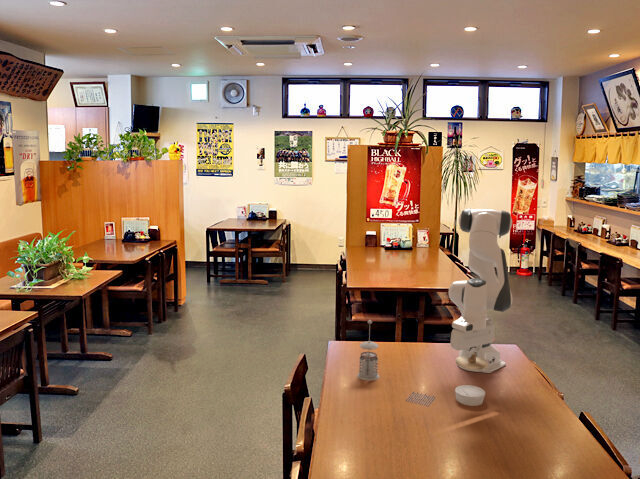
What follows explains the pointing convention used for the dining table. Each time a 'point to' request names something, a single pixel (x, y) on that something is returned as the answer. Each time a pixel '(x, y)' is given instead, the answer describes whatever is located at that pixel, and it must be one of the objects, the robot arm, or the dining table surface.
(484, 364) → the drop lid
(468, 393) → the ramekin
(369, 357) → the french press
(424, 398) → the woven mat
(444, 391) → the dining table surface
